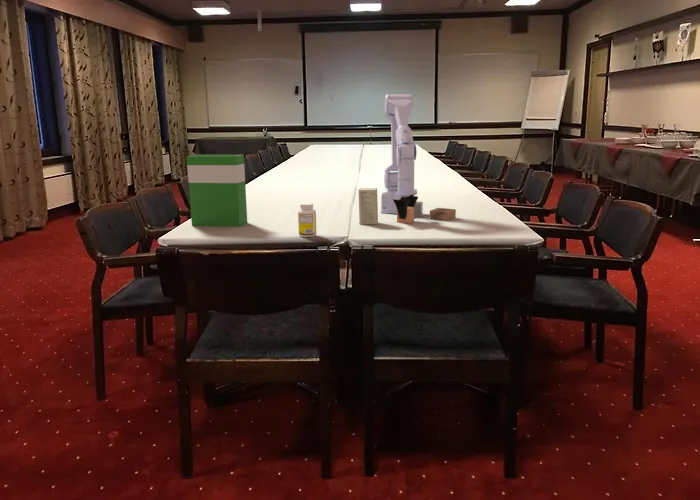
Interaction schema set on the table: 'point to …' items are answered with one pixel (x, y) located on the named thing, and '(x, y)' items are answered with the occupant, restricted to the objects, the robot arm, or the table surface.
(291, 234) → the table surface
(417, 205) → the grey block
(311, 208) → the supplement bottle
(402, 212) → the robot arm
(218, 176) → the cereal box
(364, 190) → the skincare box
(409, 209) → the rust block
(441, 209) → the walnut slab
